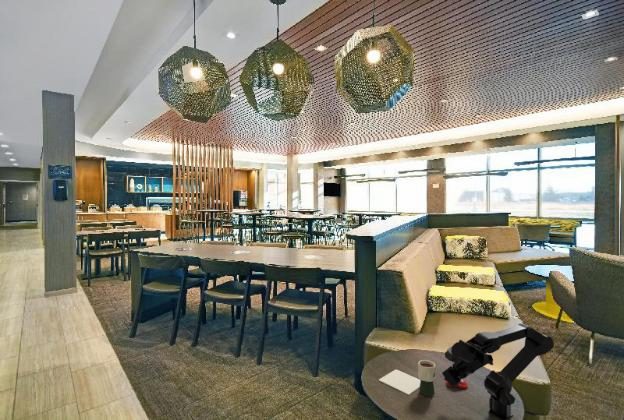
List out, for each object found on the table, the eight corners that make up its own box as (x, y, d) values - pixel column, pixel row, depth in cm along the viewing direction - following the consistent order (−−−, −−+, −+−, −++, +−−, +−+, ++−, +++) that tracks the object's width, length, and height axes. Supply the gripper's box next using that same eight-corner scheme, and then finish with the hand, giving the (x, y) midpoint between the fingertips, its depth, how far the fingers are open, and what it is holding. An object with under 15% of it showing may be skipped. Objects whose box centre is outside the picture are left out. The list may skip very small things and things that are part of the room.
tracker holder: (473, 384, 147) (459, 385, 141) (469, 392, 147) (456, 394, 142) (450, 366, 157) (437, 367, 152) (447, 374, 157) (434, 375, 152)
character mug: (438, 401, 135) (438, 370, 135) (420, 400, 137) (420, 369, 136) (433, 387, 146) (432, 358, 146) (416, 385, 147) (416, 357, 147)
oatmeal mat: (425, 383, 149) (425, 382, 149) (408, 395, 140) (408, 394, 140) (395, 370, 161) (395, 369, 161) (378, 380, 152) (378, 379, 152)
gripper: (467, 336, 137) (442, 353, 145) (446, 350, 124) (420, 368, 133) (487, 361, 131) (460, 378, 140) (468, 379, 119) (439, 396, 127)
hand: (445, 379), depth 135 cm, fingers closed
